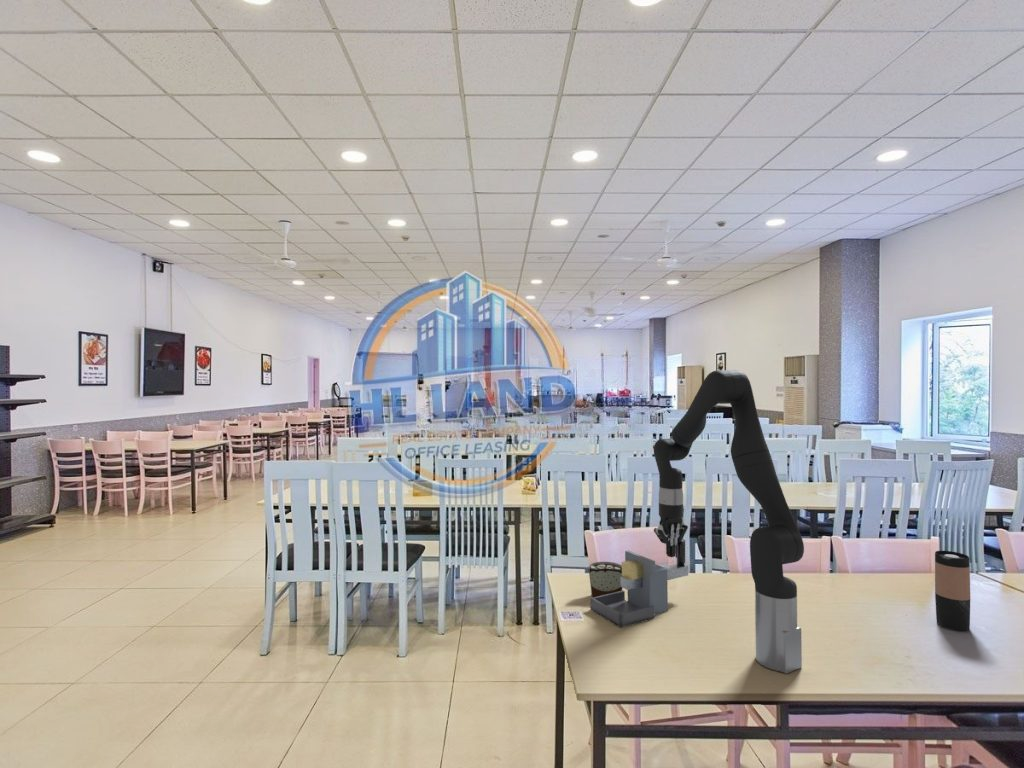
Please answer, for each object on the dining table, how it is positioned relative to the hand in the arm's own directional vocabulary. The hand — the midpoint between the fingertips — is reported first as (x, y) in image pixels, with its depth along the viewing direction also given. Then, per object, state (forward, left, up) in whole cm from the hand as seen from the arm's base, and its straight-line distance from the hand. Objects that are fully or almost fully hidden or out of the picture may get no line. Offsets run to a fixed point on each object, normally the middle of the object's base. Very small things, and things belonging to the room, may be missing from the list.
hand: (671, 556), depth 167 cm
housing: (0, +10, -14) cm, 17 cm away
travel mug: (-51, -56, -14) cm, 77 cm away
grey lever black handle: (0, +7, -6) cm, 9 cm away
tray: (0, +20, -14) cm, 24 cm away
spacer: (0, +16, -4) cm, 16 cm away
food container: (+14, +15, -14) cm, 25 cm away
